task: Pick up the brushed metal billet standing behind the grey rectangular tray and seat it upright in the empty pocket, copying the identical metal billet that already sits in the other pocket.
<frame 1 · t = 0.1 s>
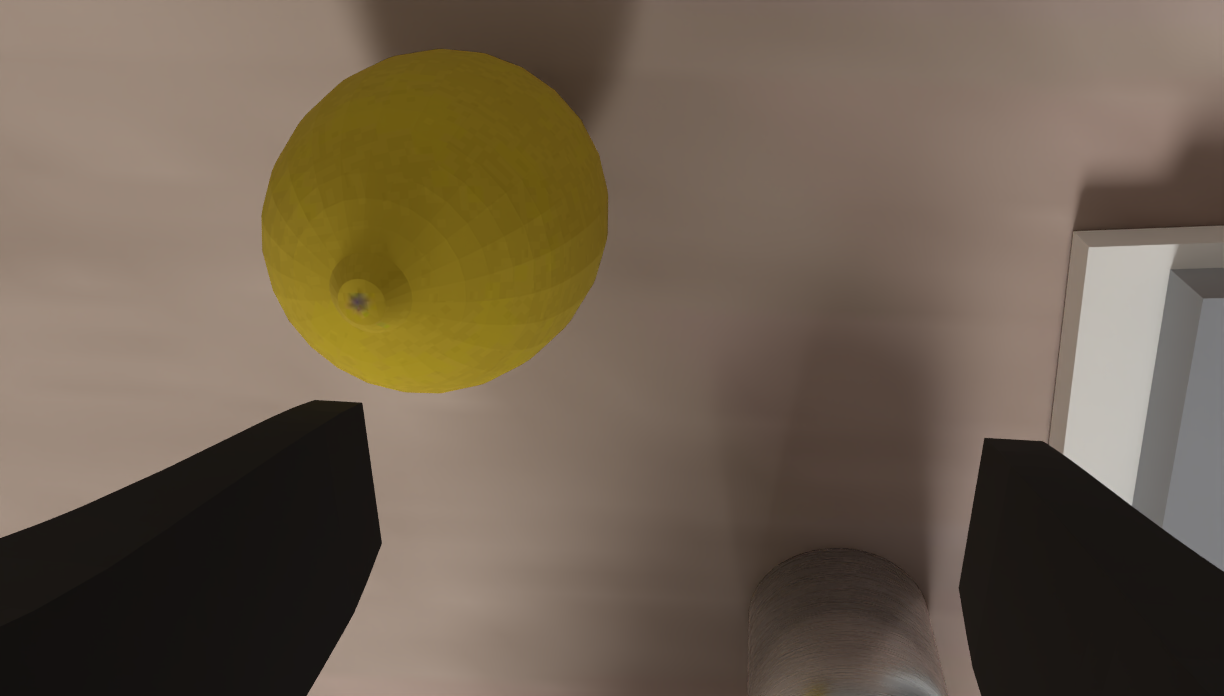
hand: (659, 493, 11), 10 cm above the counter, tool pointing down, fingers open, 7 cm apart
lemon: (505, 160, 20), on the counter
billet: (837, 620, 24), on the counter
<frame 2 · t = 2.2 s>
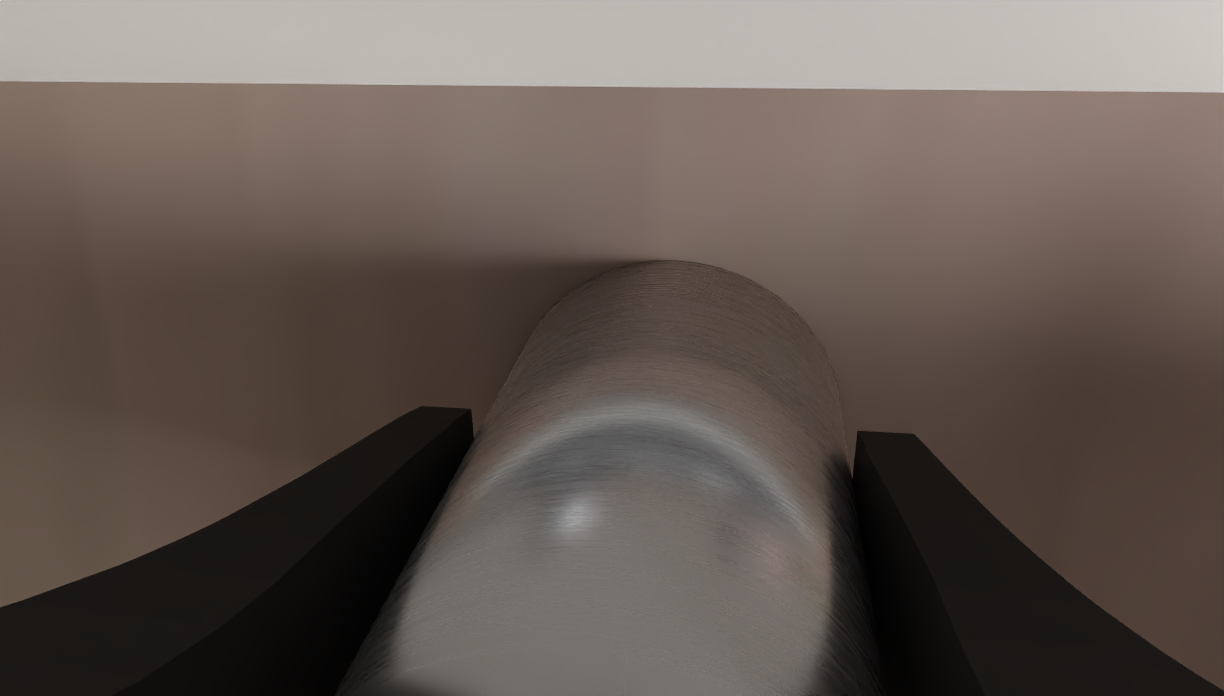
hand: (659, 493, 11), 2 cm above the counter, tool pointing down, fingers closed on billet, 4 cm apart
billet: (672, 415, 13), on the counter, touching gripper
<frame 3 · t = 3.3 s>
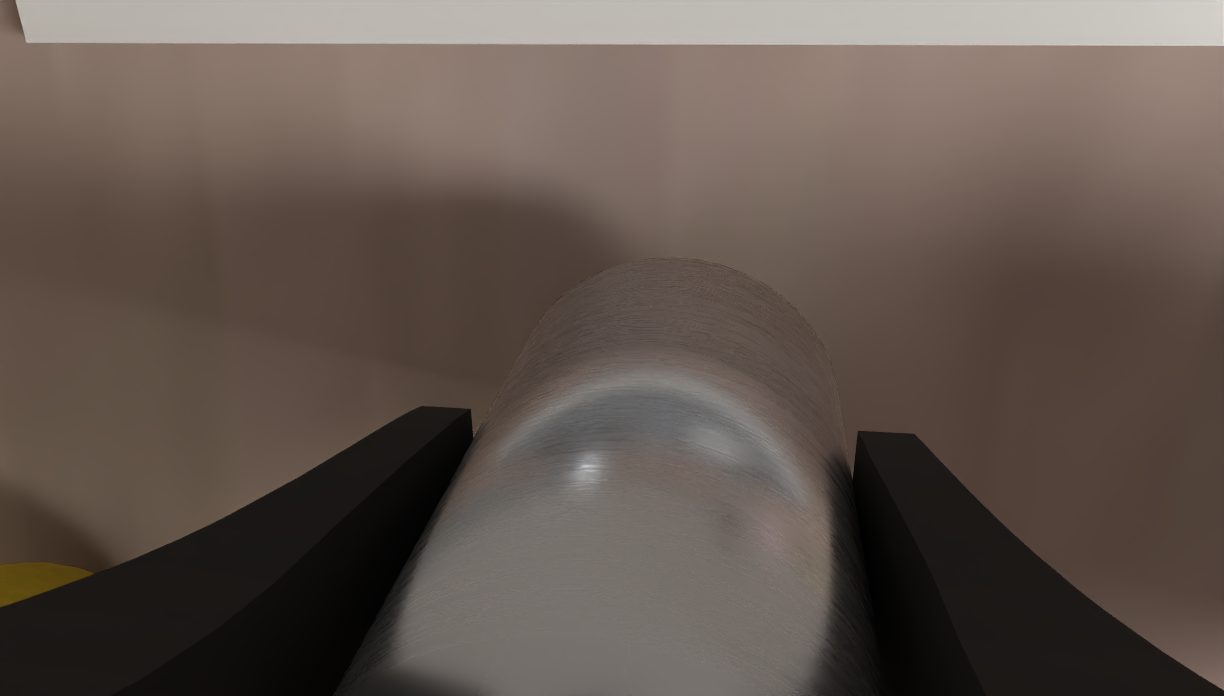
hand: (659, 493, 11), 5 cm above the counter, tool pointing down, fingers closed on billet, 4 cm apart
lemon: (125, 588, 21), on the counter
billet: (673, 410, 13), point 3 cm above the counter, touching gripper
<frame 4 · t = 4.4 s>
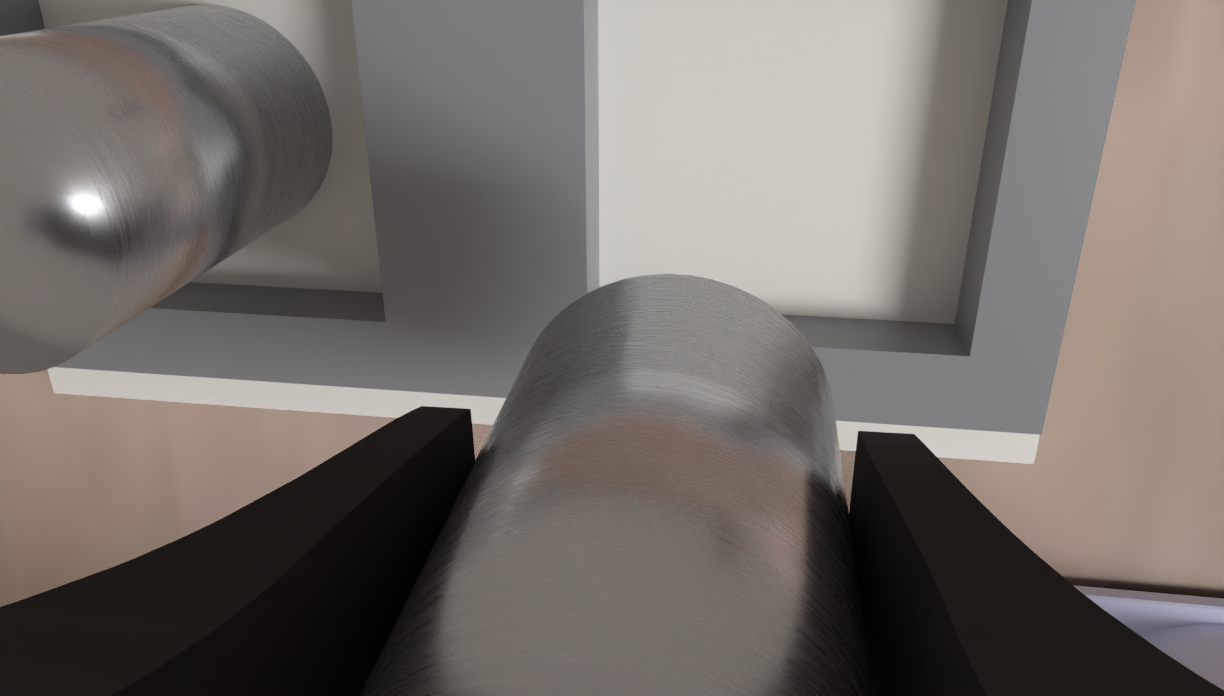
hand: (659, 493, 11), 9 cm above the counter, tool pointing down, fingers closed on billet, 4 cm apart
grey rectangular tray: (508, 119, 19), on the counter
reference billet: (226, 121, 19), point 1 cm above the counter, touching grey rectangular tray
billet: (672, 421, 13), point 7 cm above the counter, touching gripper
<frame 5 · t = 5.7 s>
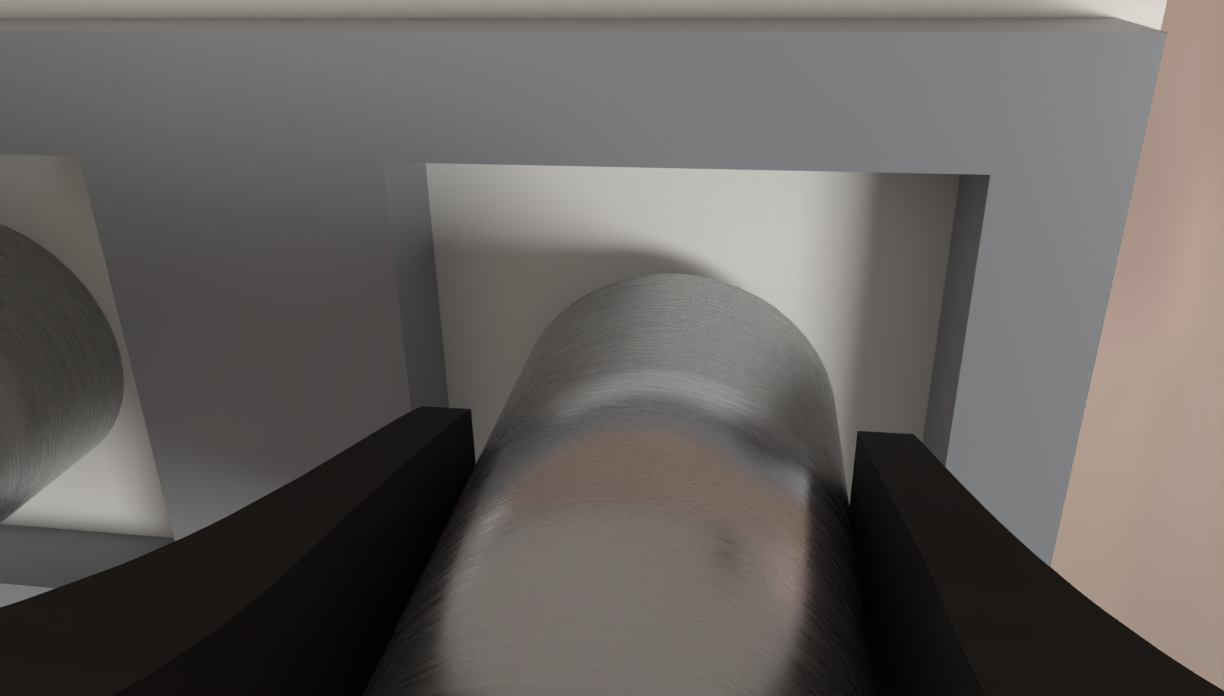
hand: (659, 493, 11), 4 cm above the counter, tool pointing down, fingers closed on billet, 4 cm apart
grey rectangular tray: (344, 337, 15), on the counter
billet: (673, 421, 13), point 2 cm above the counter, touching gripper
when the fingers open (4 cm above the counter, at t = 6.8 s): billet stays where it is, resting on grey rectangular tray.
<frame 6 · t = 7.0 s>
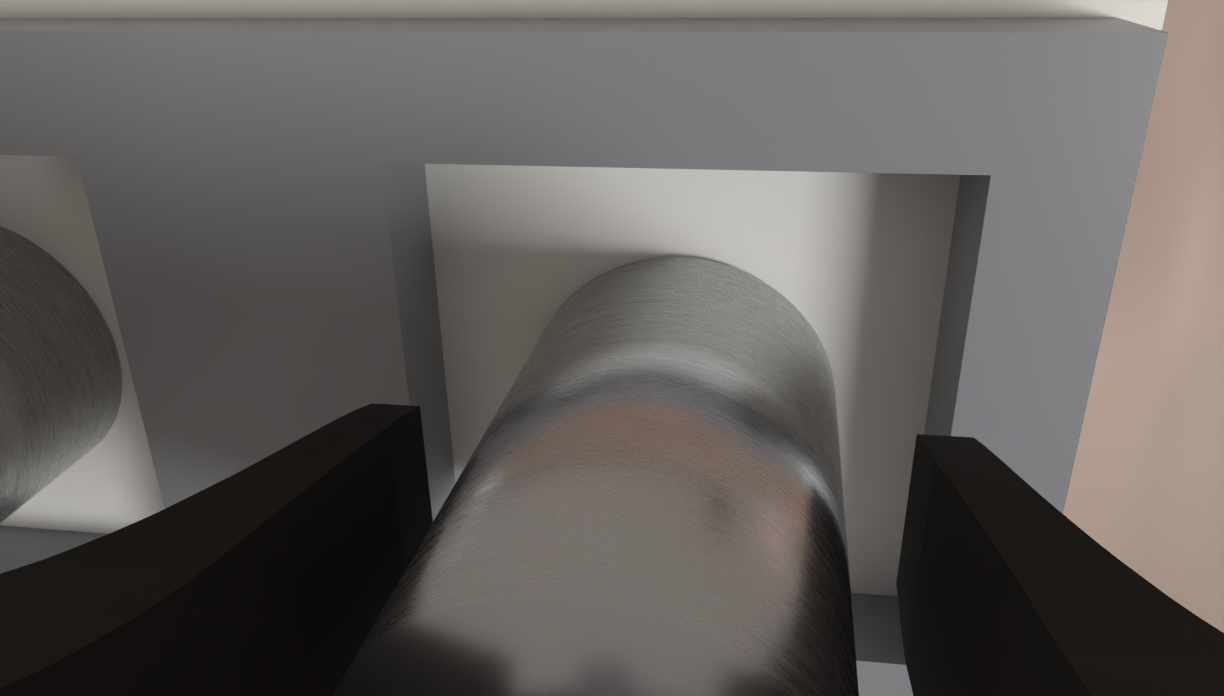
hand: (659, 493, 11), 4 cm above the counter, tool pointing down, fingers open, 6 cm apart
grey rectangular tray: (343, 337, 15), on the counter
billet: (679, 400, 14), point 1 cm above the counter, touching grey rectangular tray
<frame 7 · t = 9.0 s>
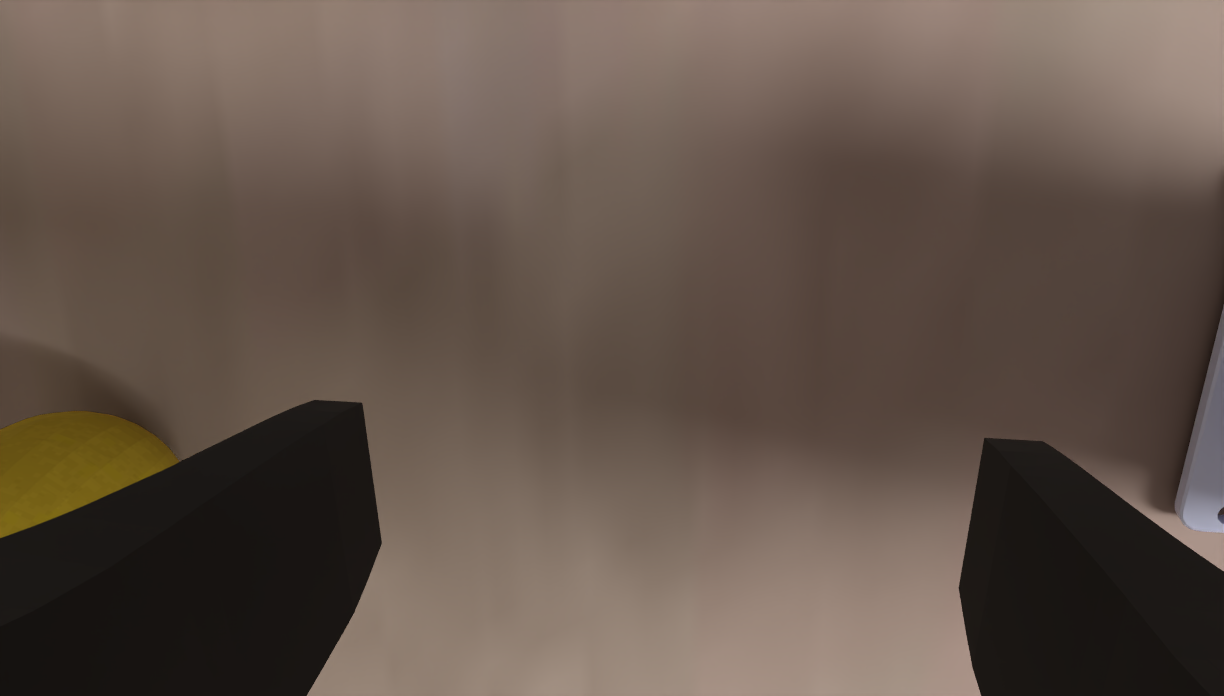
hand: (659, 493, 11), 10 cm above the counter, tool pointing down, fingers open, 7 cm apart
lemon: (159, 449, 26), on the counter
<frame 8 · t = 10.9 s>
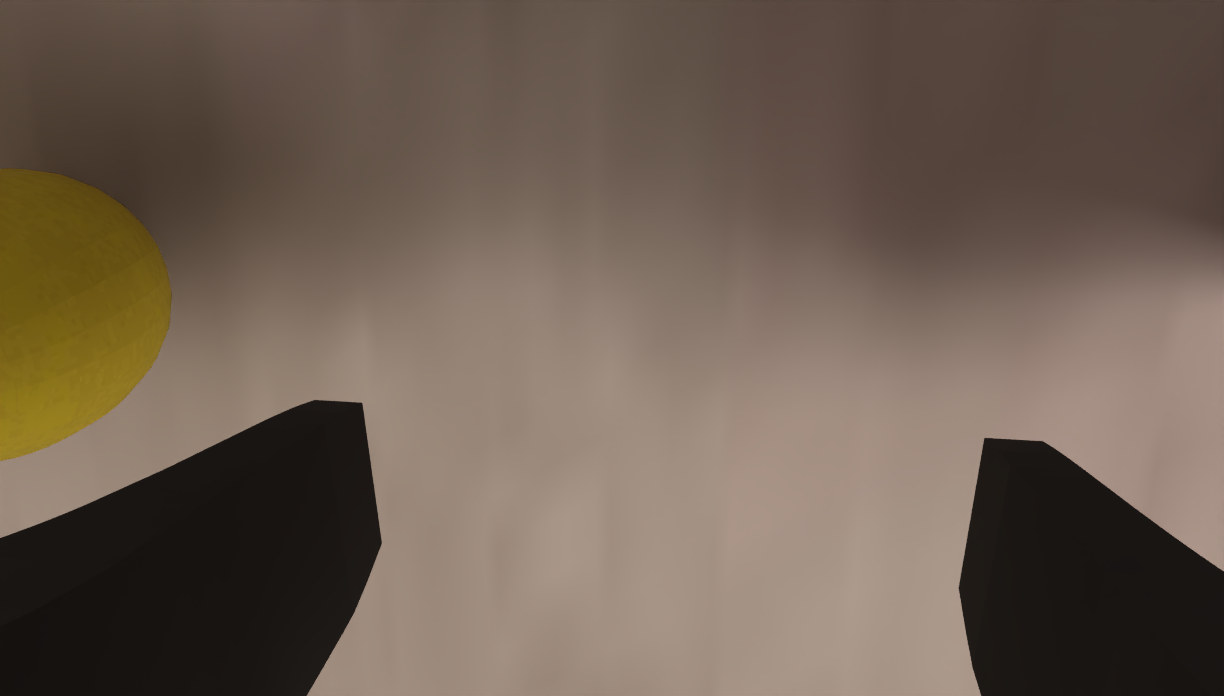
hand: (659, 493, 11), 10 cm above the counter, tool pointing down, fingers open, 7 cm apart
lemon: (131, 246, 23), on the counter
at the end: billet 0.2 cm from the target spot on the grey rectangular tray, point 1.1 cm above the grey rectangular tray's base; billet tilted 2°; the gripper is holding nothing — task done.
